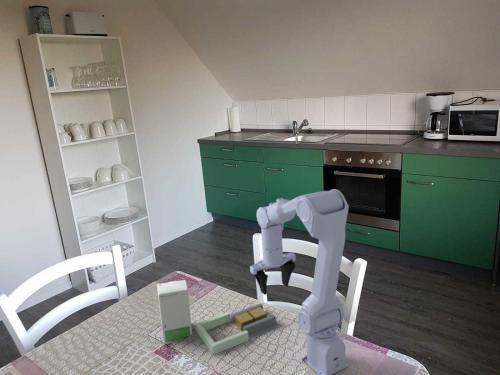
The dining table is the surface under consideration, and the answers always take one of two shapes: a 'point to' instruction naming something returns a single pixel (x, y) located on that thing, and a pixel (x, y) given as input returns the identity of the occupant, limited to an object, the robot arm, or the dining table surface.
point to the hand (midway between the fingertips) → (274, 288)
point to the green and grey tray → (247, 333)
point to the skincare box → (174, 310)
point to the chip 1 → (243, 320)
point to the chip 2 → (257, 314)
